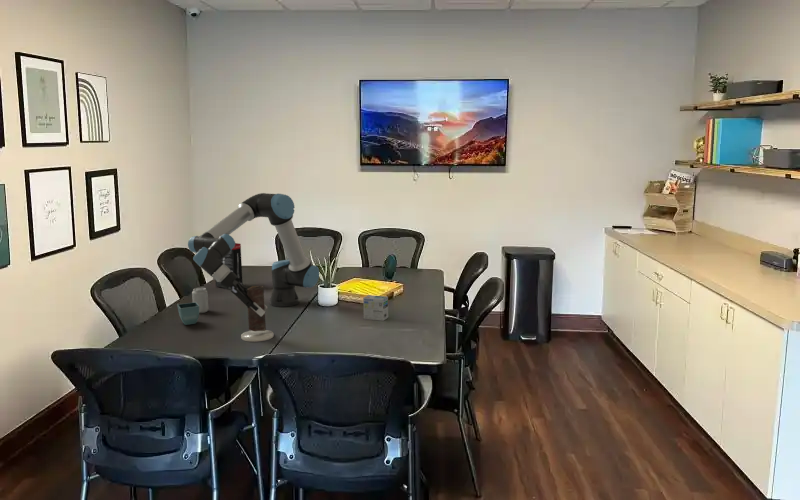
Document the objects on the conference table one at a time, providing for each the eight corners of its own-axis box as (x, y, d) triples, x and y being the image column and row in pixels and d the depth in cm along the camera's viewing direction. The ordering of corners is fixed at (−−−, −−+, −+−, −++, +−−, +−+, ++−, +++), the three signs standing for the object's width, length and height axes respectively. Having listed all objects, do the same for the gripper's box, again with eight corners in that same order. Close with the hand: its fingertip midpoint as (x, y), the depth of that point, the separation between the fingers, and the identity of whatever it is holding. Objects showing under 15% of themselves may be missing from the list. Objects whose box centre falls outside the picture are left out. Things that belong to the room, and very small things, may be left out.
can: (204, 313, 327) (202, 290, 325) (190, 313, 329) (188, 289, 327) (211, 310, 334) (210, 287, 332) (197, 309, 336) (196, 286, 334)
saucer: (266, 330, 297) (266, 328, 297) (278, 338, 286) (278, 335, 285) (236, 335, 290) (236, 333, 290) (247, 343, 278) (247, 340, 278)
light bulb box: (388, 317, 318) (388, 296, 316) (383, 321, 312) (383, 299, 310) (368, 315, 322) (368, 294, 320) (363, 319, 315) (362, 297, 314)
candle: (257, 334, 282) (255, 289, 279) (244, 331, 286) (242, 287, 283) (269, 330, 289) (267, 285, 286) (257, 327, 292) (255, 284, 289)
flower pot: (181, 327, 304) (180, 308, 303) (178, 322, 312) (176, 304, 310) (200, 324, 308) (199, 306, 307) (197, 320, 316) (196, 302, 314)
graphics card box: (243, 288, 384) (241, 242, 380) (235, 290, 378) (232, 244, 374) (223, 285, 393) (221, 240, 389) (214, 287, 387) (212, 241, 383)
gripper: (223, 278, 292) (261, 312, 296) (214, 288, 273) (255, 324, 277) (234, 266, 292) (272, 300, 296) (226, 275, 272) (267, 311, 276)
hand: (264, 312), depth 286 cm, fingers closed on candle, 7 cm apart
